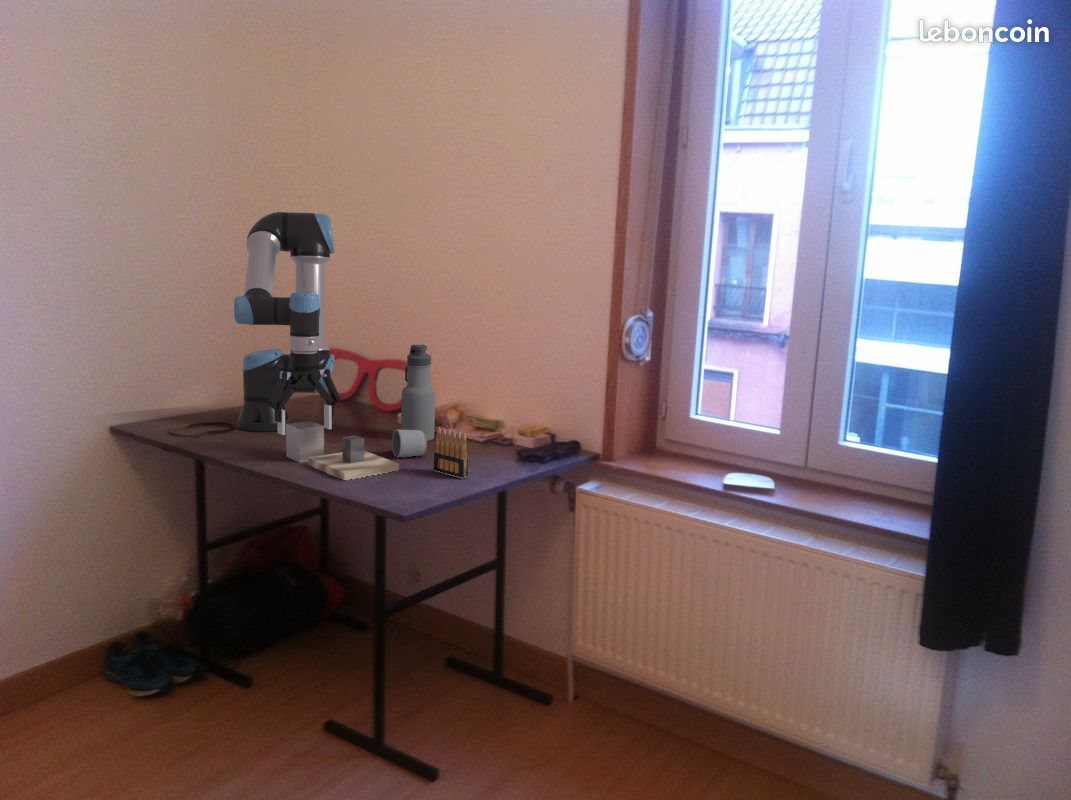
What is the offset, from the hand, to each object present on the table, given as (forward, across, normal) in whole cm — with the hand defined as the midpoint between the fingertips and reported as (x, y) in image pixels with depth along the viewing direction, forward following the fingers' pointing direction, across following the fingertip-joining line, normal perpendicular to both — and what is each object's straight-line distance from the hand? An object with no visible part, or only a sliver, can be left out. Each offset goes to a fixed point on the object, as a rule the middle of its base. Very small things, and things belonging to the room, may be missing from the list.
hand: (305, 431), depth 243 cm
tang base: (+8, +5, -16) cm, 18 cm away
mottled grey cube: (+7, 0, 0) cm, 7 cm away
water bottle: (+7, +38, +2) cm, 39 cm away
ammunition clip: (+8, +22, -34) cm, 42 cm away
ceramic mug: (+8, +24, -12) cm, 28 cm away
